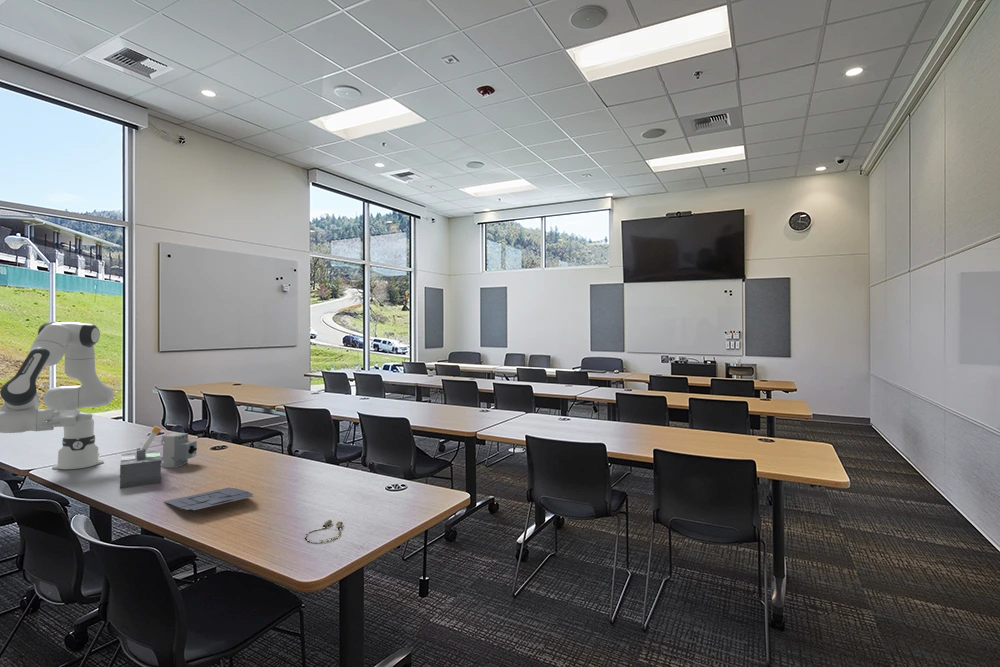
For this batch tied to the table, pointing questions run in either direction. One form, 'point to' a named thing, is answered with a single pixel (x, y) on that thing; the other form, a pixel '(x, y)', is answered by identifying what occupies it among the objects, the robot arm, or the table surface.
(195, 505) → the dark blue panel
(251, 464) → the table surface
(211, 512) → the table surface
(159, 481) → the box
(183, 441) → the circuit breaker
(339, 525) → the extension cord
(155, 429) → the lever
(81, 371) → the robot arm
